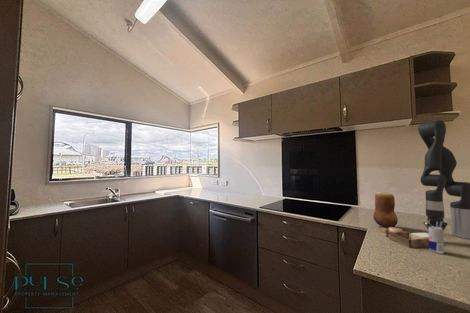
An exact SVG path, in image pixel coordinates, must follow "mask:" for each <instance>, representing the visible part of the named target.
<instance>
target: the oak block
mask: <svg viewBox="0 0 470 313" xmlns="http://www.w3.org/2000/svg"><path fill="white" fill-rule="evenodd" d="M378 235H380V236H383V237H389V229H387V228H383V227H378Z"/></svg>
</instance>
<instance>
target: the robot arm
mask: <svg viewBox="0 0 470 313" xmlns="http://www.w3.org/2000/svg"><path fill="white" fill-rule="evenodd" d="M417 130H418V134H419V136H420V138H421V139H422V141H423V142H424V144H425V145H426V147H427V149H428V150H427V151H426V153H425V155H424V167H423V171H422V174H421V177H420V183H421V184H422V186H424V187H436V188H435V189H432V190H431V189H429V190H425V192H424V193H425V194H424V195H425V216H426V217H427V220H426V222H423V225H424V226H425V228H426V229H427V230H428V228H429V226H434V227H439V228H442V229H443V232H444V231H445V229H446V228H447V226H448V222H445V221H444V218H445V205H444V200H443V199H444V198H443V197H444V195H443V194H444V190H445V192H446V194H448V196H452V197H457V198H458V197H459V198H460V200H457V201H451V202H450V204H449V207H450V208H449V210H450V219H451V221H450V222H451V235H452V236H455V237H457V238H463V239H469V240H470V182H468V181H467V182H466V181H465V182H464V181H455V180H454V178H453V172H454V171H455V168H456V167H457V164H458V162H457V159H456V157H455V155H454V153H453V152H452V151H451V150H450V149H448V148H447V147H445V146H444V144H445V143H444V142H445V137H446V132H447V126H446V124H445V122H444V121H443V120H441V119H438V120H433V121H432V120H431V121H428V122H422V123H420V124H418V127H417ZM432 172H438V174H433V173H432ZM431 173H432V174H431Z"/></svg>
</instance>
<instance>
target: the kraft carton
mask: <svg viewBox="0 0 470 313" xmlns="http://www.w3.org/2000/svg"><path fill="white" fill-rule="evenodd" d="M424 238H427V239H429V234H428V232H412V233H410V239H424Z"/></svg>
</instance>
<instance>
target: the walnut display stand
mask: <svg viewBox="0 0 470 313" xmlns="http://www.w3.org/2000/svg"><path fill="white" fill-rule="evenodd" d="M388 239H389V240H390V241H392V242H395V243H397V244H399V245H402V246H405V247H407V248H409V249H411V248H412V249H413V248H429V239H427V238H424V239H411V237H410V231H403V232H389V236H388Z"/></svg>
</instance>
